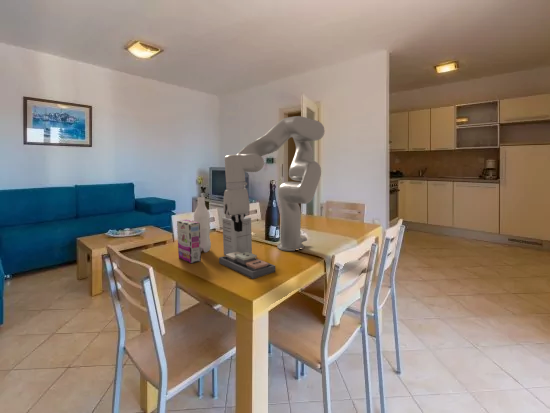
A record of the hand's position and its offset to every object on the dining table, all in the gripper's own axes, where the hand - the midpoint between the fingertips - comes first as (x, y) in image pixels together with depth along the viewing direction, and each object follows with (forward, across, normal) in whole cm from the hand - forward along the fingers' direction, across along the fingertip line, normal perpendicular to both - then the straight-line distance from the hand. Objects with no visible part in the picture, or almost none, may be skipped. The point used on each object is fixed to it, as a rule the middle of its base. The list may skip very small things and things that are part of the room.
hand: (238, 230), depth 123 cm
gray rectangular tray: (+13, +2, +8) cm, 15 cm away
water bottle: (+13, +4, -24) cm, 27 cm away
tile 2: (+10, +2, +8) cm, 13 cm away
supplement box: (+13, -5, -8) cm, 17 cm away
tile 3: (+12, +2, +14) cm, 19 cm away
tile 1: (+12, +2, 0) cm, 12 cm away
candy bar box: (+13, +14, -17) cm, 25 cm away
